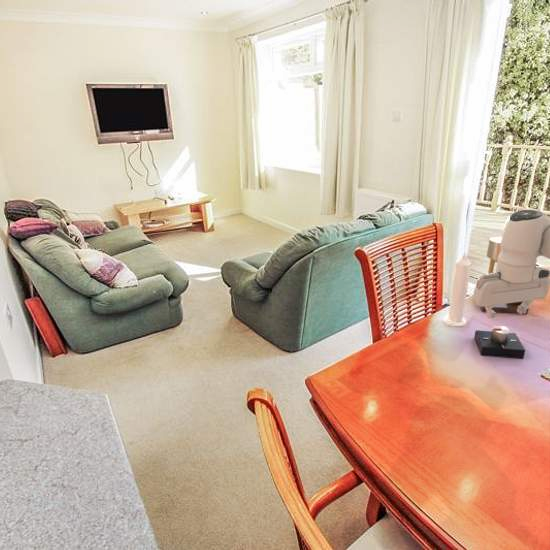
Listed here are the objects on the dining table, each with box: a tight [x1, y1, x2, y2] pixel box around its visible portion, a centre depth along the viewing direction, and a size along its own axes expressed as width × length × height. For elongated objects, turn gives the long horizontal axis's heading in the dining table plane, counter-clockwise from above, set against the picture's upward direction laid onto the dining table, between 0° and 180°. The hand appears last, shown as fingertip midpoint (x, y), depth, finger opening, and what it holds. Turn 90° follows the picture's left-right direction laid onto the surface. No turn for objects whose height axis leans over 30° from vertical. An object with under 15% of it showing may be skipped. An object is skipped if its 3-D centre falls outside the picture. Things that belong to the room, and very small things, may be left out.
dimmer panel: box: [473, 329, 526, 360], centre depth 111 cm, size 11×9×3 cm
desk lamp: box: [486, 236, 502, 274], centre depth 129 cm, size 6×6×21 cm
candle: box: [443, 252, 472, 328], centre depth 121 cm, size 7×7×25 cm
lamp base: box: [478, 301, 529, 315], centre depth 133 cm, size 15×10×4 cm
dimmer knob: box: [491, 325, 511, 344], centre depth 110 cm, size 4×4×4 cm
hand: (505, 314), depth 107 cm, fingers open, 8 cm apart
